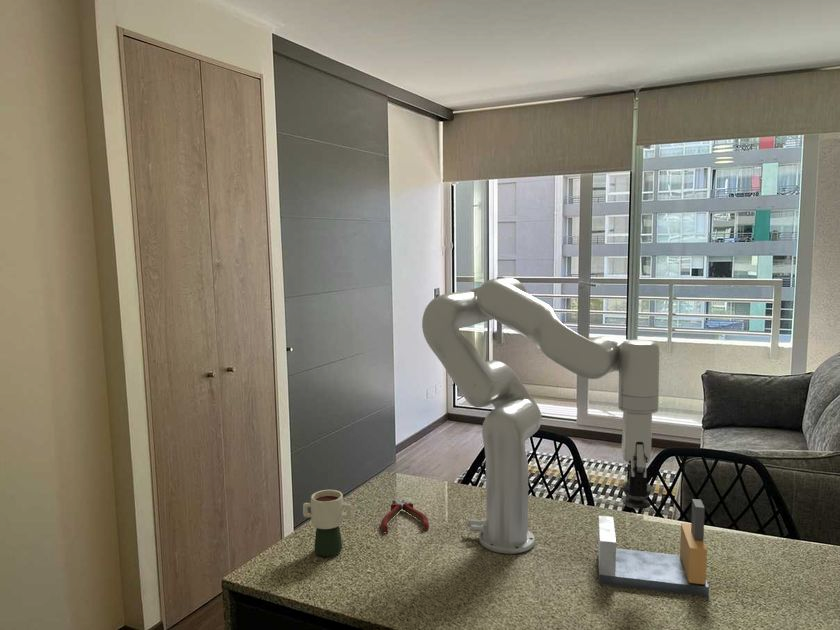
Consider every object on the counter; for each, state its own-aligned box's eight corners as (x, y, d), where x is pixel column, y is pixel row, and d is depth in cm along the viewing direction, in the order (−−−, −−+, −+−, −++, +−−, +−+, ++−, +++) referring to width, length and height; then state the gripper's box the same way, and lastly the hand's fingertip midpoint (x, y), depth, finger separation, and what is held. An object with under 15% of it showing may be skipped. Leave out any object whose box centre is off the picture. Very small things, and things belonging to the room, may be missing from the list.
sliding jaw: (688, 582, 118) (691, 513, 117) (680, 555, 129) (682, 491, 127) (705, 584, 117) (708, 515, 116) (695, 556, 128) (697, 493, 126)
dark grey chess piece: (635, 511, 121) (636, 452, 119) (615, 500, 126) (616, 443, 125) (658, 506, 123) (659, 447, 122) (637, 495, 128) (638, 439, 127)
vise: (599, 584, 122) (600, 540, 121) (597, 555, 134) (598, 515, 133) (708, 597, 117) (710, 552, 116) (697, 566, 128) (698, 524, 128)
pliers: (421, 499, 166) (420, 490, 166) (430, 533, 146) (430, 522, 146) (378, 502, 165) (378, 492, 165) (382, 536, 145) (381, 525, 145)
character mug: (355, 544, 140) (354, 489, 139) (349, 560, 133) (348, 502, 132) (308, 543, 141) (306, 489, 139) (300, 559, 134) (298, 501, 132)
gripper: (616, 391, 132) (615, 473, 133) (621, 412, 115) (619, 505, 117) (653, 393, 130) (651, 476, 131) (663, 414, 113) (661, 508, 115)
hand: (636, 488), depth 124 cm, fingers closed on dark grey chess piece, 5 cm apart
